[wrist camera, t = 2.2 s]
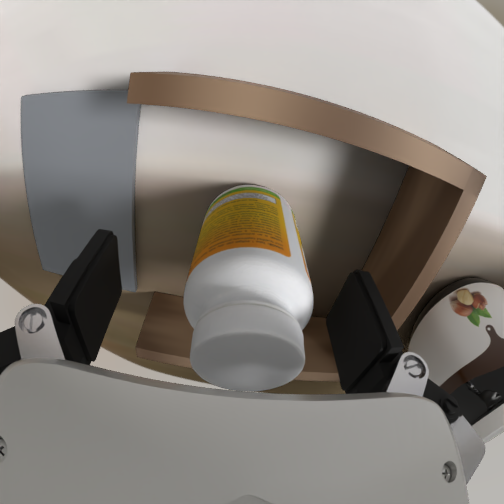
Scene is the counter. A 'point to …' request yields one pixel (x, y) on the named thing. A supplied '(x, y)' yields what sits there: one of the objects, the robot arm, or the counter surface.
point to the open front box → (393, 232)
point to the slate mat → (81, 173)
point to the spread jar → (466, 350)
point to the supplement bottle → (248, 292)
